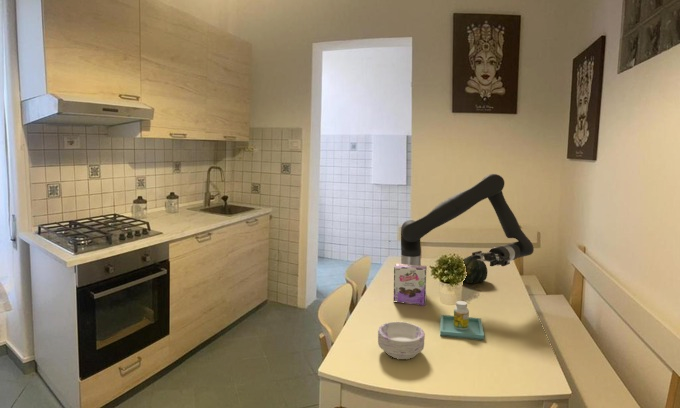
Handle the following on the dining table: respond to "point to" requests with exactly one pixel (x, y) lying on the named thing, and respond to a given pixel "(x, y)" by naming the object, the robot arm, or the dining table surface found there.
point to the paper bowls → (401, 339)
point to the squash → (475, 270)
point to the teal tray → (471, 333)
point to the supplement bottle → (461, 316)
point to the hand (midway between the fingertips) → (480, 261)
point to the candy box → (410, 283)
